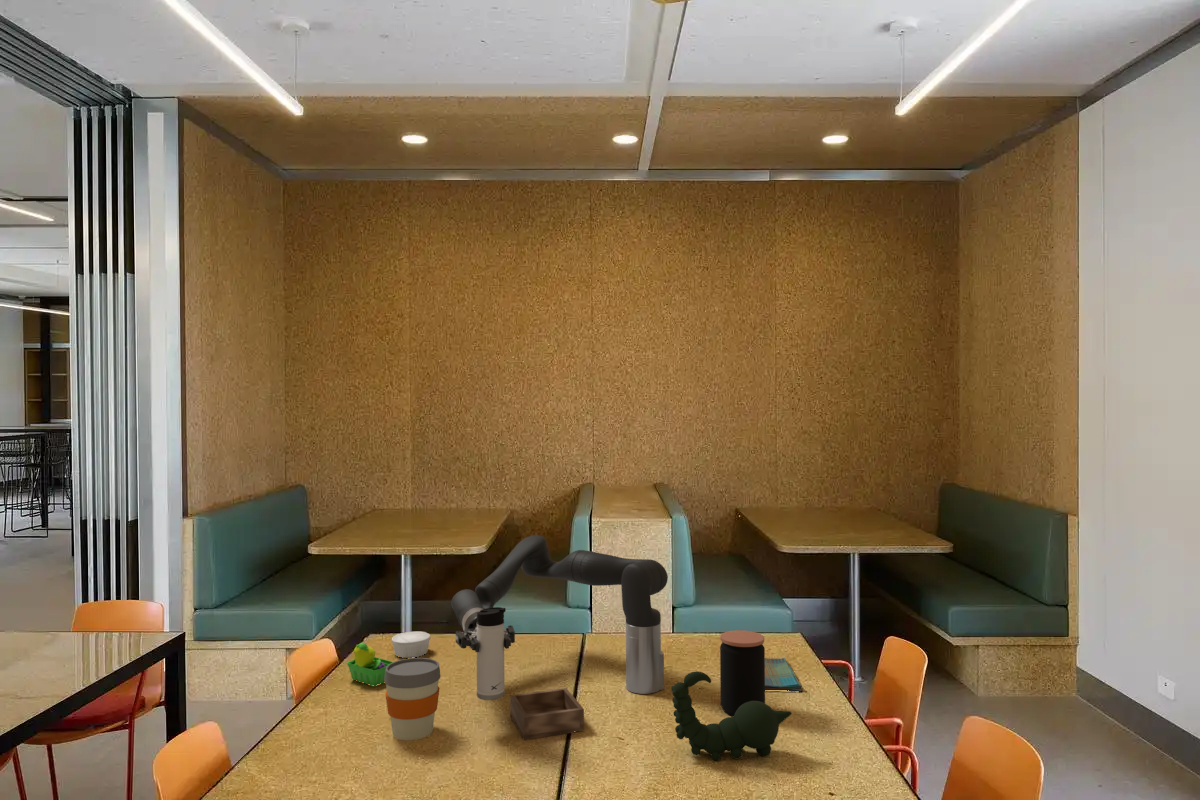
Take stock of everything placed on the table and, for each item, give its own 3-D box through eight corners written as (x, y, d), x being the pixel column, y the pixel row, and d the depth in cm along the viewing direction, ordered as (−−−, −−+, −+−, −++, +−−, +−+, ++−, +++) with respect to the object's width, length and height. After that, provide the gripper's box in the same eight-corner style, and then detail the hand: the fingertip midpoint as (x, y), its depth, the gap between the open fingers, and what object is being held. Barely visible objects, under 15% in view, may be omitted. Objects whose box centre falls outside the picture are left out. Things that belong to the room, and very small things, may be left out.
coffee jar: (769, 706, 190) (768, 633, 190) (759, 722, 181) (758, 645, 181) (727, 699, 195) (726, 628, 195) (715, 715, 185) (714, 640, 185)
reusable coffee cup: (391, 748, 168) (390, 679, 168) (379, 727, 179) (378, 662, 179) (447, 736, 174) (447, 670, 174) (432, 716, 185) (432, 654, 185)
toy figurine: (681, 773, 159) (801, 761, 159) (672, 682, 160) (792, 670, 160) (676, 752, 169) (789, 741, 169) (668, 666, 169) (781, 655, 169)
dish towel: (736, 693, 200) (736, 684, 200) (726, 663, 223) (726, 654, 223) (803, 694, 199) (803, 685, 199) (786, 664, 222) (786, 655, 222)
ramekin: (384, 657, 229) (384, 639, 229) (406, 646, 239) (406, 629, 239) (415, 662, 225) (415, 644, 225) (437, 650, 235) (437, 633, 235)
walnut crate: (566, 708, 190) (566, 687, 190) (584, 731, 176) (583, 709, 176) (510, 716, 185) (510, 695, 185) (524, 740, 172) (524, 717, 172)
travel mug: (500, 701, 173) (500, 612, 173) (472, 699, 174) (472, 611, 174) (509, 691, 179) (509, 605, 179) (482, 689, 180) (482, 603, 180)
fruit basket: (396, 680, 210) (396, 639, 210) (370, 691, 202) (370, 648, 202) (367, 673, 216) (367, 632, 216) (341, 682, 208) (341, 641, 208)
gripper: (508, 638, 192) (523, 658, 177) (450, 644, 188) (460, 666, 172) (507, 608, 192) (523, 626, 177) (449, 613, 188) (460, 632, 172)
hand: (492, 645), depth 174 cm, fingers closed on travel mug, 6 cm apart
